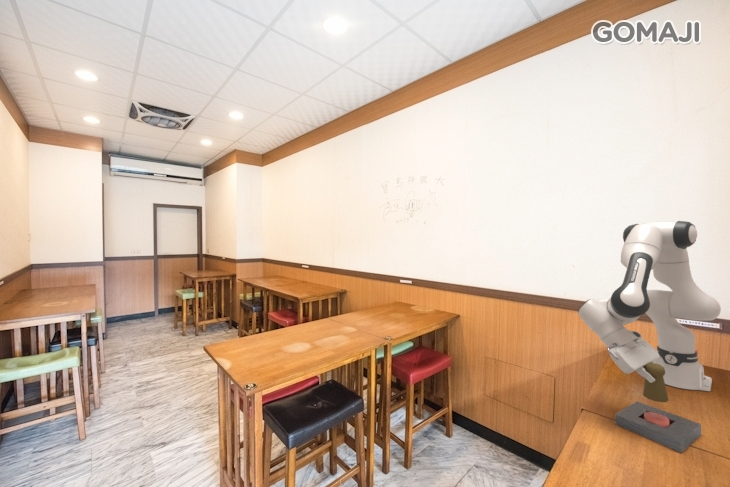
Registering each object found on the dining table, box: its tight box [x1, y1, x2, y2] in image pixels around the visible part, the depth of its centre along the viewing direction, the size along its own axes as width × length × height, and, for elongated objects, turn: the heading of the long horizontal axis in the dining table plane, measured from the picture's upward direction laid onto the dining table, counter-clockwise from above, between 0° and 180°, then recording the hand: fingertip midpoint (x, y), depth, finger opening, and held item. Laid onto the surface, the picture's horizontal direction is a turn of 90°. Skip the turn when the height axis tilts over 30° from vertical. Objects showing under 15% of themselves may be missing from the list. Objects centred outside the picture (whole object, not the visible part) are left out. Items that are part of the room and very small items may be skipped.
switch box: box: [614, 400, 702, 454], centre depth 98 cm, size 16×16×4 cm
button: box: [644, 412, 670, 428], centre depth 98 cm, size 6×6×4 cm
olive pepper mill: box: [642, 363, 669, 403], centre depth 98 cm, size 6×6×11 cm
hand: (657, 379), depth 98 cm, fingers closed on olive pepper mill, 4 cm apart
